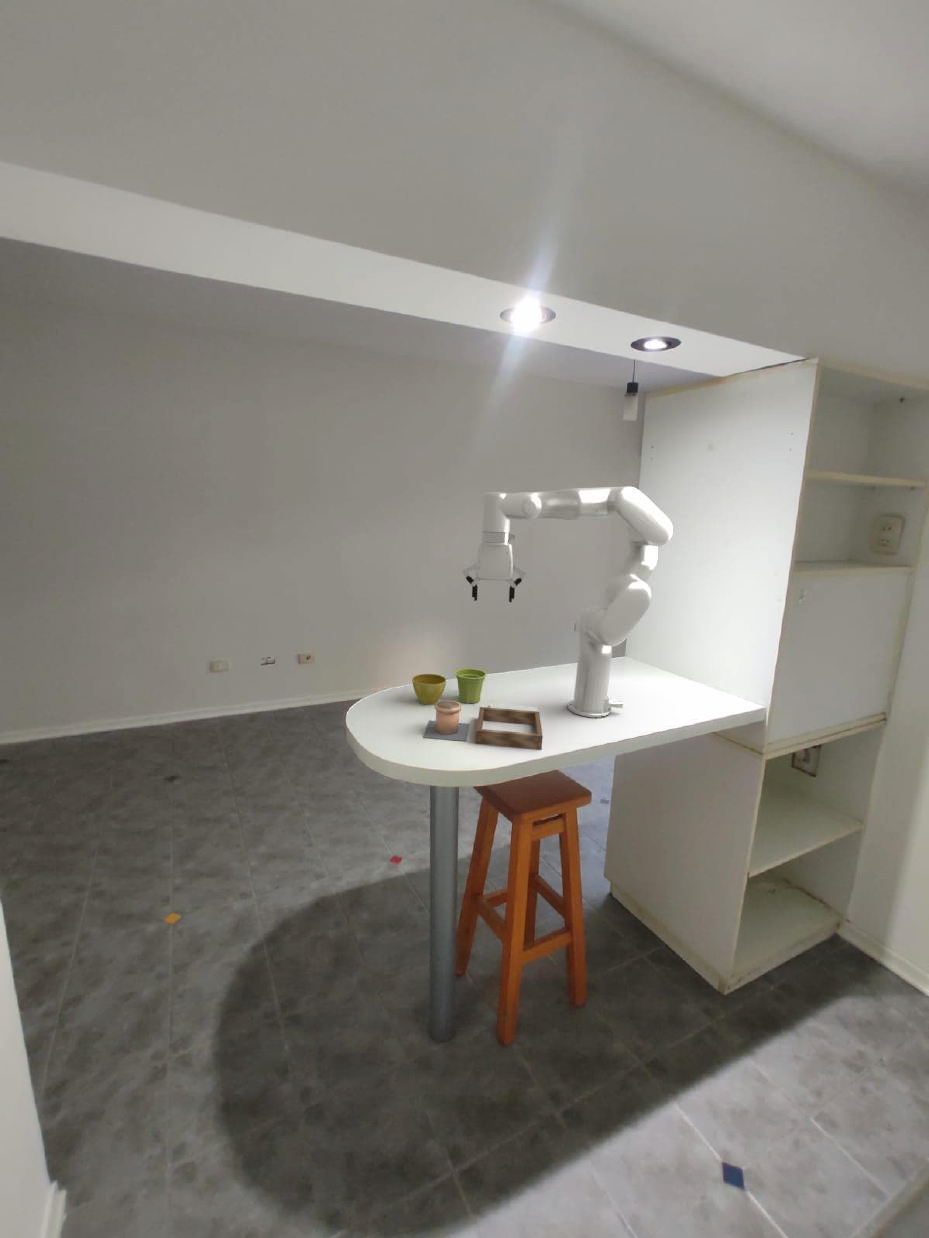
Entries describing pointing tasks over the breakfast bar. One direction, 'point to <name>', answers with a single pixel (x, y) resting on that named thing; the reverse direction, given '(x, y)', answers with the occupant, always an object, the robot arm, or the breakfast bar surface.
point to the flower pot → (428, 687)
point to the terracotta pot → (447, 717)
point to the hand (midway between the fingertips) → (492, 600)
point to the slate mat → (459, 736)
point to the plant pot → (470, 684)
